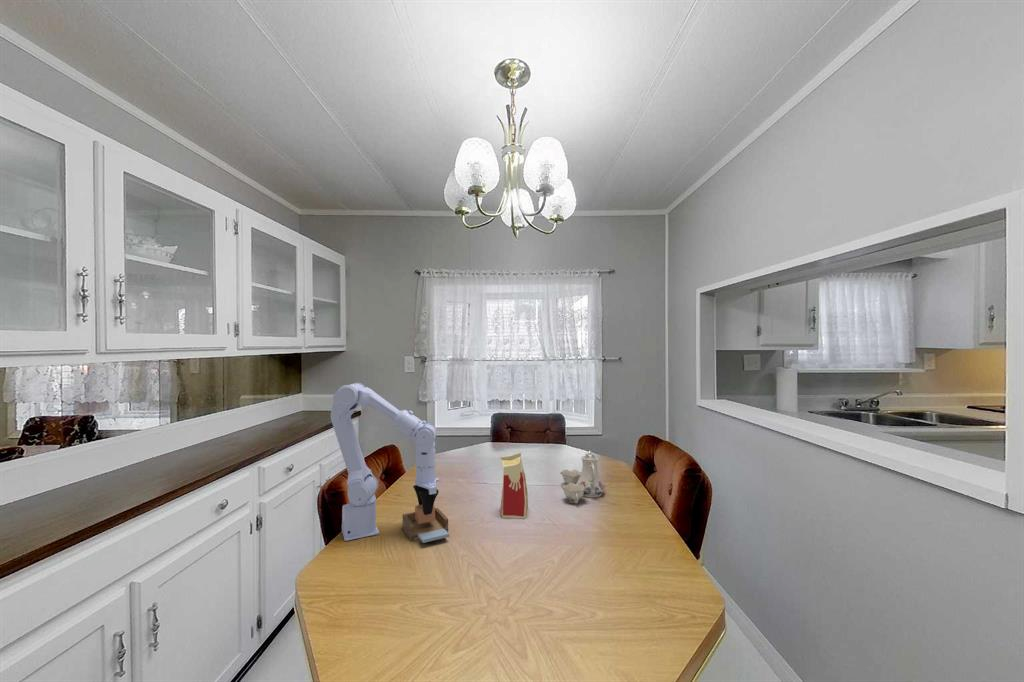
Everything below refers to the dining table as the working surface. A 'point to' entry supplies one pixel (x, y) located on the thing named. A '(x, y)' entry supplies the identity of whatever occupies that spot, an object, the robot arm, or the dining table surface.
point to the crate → (423, 524)
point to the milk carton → (514, 488)
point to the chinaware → (583, 480)
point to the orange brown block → (421, 517)
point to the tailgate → (433, 535)
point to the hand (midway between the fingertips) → (425, 511)
